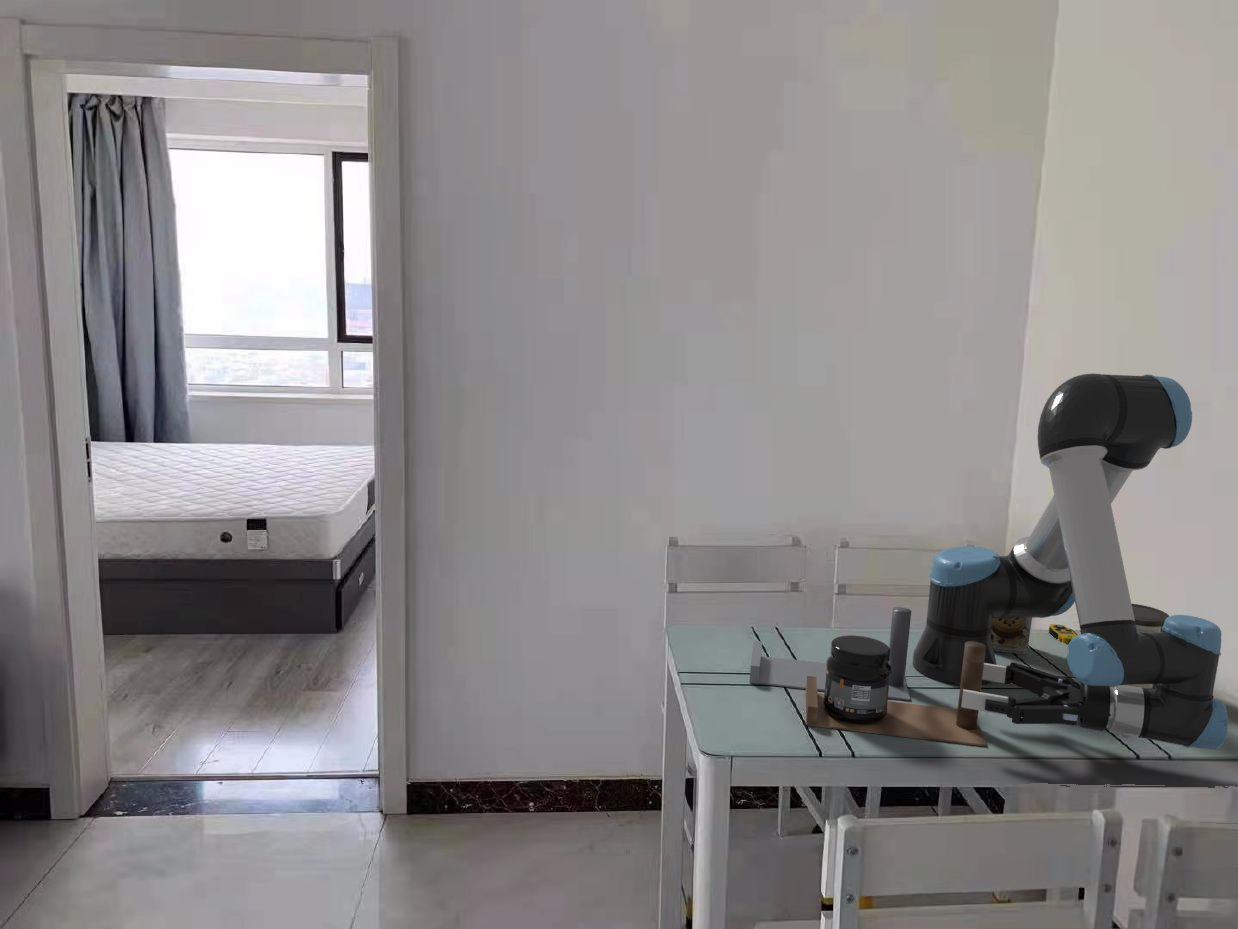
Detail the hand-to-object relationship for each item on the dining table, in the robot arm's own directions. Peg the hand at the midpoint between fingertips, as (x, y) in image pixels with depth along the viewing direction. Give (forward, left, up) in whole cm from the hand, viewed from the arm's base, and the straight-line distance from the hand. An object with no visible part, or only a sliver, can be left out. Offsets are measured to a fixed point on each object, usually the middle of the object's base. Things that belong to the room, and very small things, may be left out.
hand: (962, 682), depth 153 cm
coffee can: (-36, -30, -8) cm, 47 cm away
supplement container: (+17, -1, -8) cm, 18 cm away
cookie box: (-16, -43, -8) cm, 46 cm away
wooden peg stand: (+11, -1, -8) cm, 13 cm away
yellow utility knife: (-31, -51, -9) cm, 60 cm away
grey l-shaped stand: (+20, -16, -8) cm, 27 cm away
